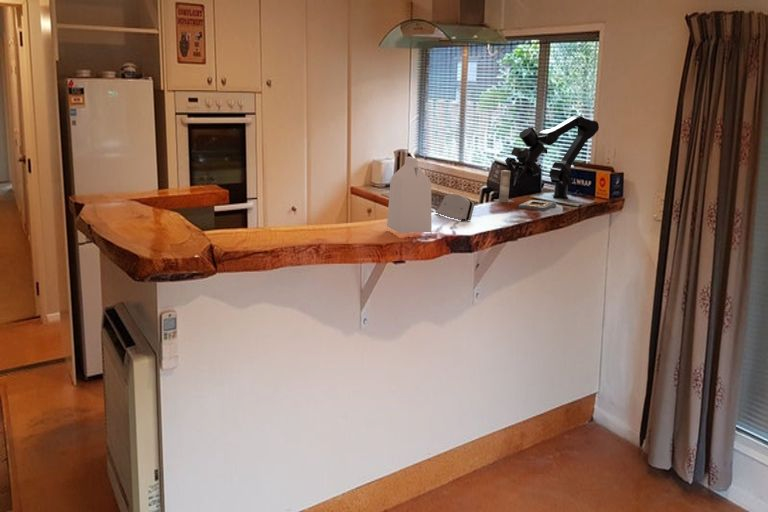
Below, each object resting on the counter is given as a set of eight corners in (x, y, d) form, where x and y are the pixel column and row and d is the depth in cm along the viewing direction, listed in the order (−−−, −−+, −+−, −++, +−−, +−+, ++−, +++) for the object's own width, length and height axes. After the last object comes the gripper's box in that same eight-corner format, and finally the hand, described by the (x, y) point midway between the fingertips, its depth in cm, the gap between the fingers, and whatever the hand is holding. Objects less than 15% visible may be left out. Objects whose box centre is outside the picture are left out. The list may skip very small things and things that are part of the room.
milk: (386, 231, 238) (388, 155, 231) (416, 229, 242) (419, 155, 235) (400, 238, 227) (402, 160, 220) (431, 236, 231) (434, 159, 225)
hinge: (434, 214, 269) (442, 189, 268) (443, 217, 272) (451, 193, 271) (460, 222, 255) (468, 196, 254) (469, 225, 258) (478, 200, 257)
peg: (498, 199, 303) (501, 170, 299) (508, 200, 302) (510, 170, 299) (499, 201, 299) (501, 171, 296) (508, 201, 298) (510, 171, 295)
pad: (505, 199, 305) (505, 198, 305) (514, 202, 299) (514, 201, 299) (492, 200, 302) (492, 199, 302) (501, 203, 296) (501, 202, 296)
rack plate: (531, 203, 298) (531, 199, 298) (556, 205, 293) (556, 202, 292) (518, 208, 285) (518, 204, 285) (543, 211, 280) (544, 207, 279)
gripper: (510, 139, 306) (488, 164, 304) (537, 143, 290) (514, 169, 288) (522, 156, 311) (501, 181, 309) (550, 161, 295) (527, 187, 293)
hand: (510, 179), depth 299 cm, fingers open, 9 cm apart
